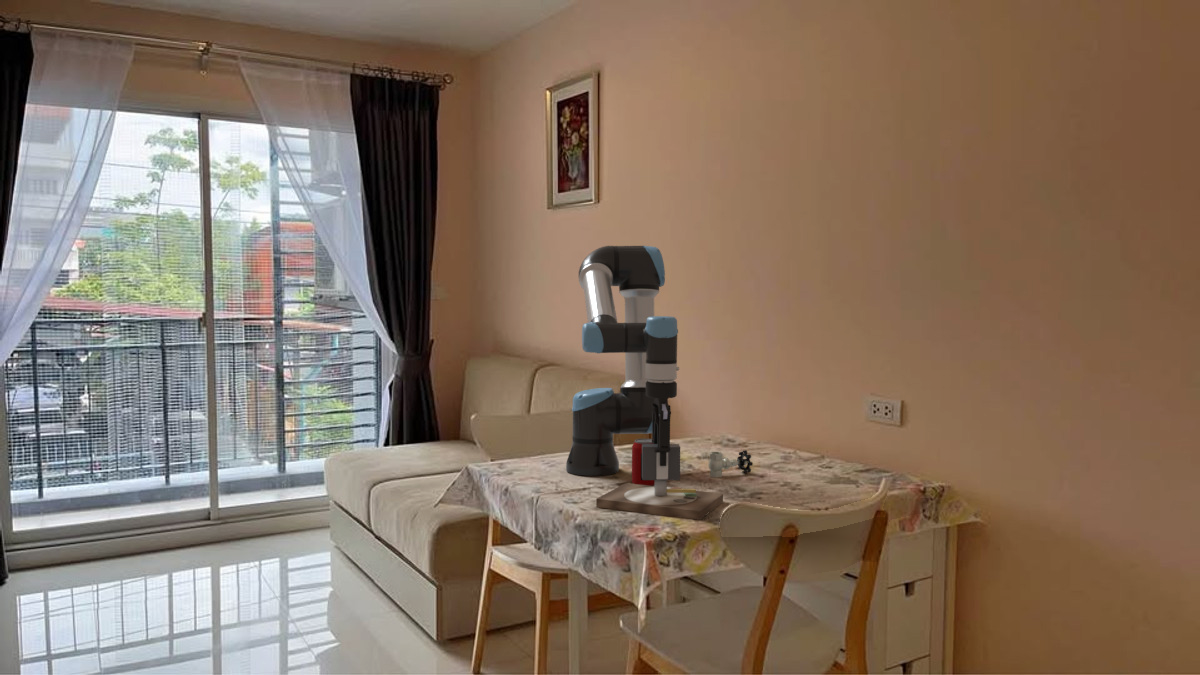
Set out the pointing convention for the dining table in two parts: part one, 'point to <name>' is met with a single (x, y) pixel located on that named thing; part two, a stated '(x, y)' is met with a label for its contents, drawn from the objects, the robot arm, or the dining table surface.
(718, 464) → the valve
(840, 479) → the dining table surface
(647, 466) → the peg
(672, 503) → the brown wooden board
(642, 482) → the beverage can
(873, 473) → the dining table surface
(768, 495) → the dining table surface
